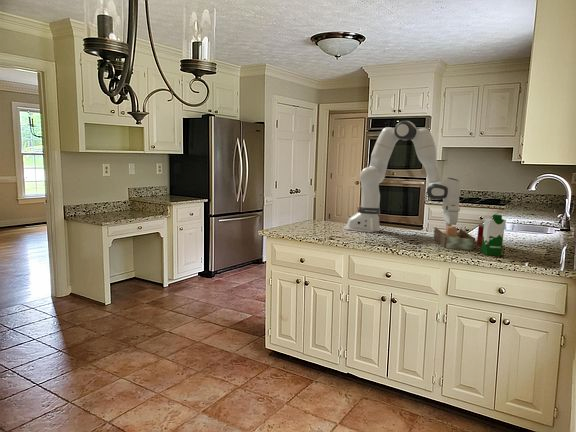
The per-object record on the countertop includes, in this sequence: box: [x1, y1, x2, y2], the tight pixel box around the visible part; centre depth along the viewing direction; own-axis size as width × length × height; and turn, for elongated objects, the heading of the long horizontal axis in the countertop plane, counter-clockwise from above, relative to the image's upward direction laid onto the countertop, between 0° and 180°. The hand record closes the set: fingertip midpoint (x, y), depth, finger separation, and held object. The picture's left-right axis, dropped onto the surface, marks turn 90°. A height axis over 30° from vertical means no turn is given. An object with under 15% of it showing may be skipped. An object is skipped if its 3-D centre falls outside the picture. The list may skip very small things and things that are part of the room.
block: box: [445, 225, 458, 235], centre depth 244 cm, size 5×5×4 cm
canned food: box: [476, 223, 484, 246], centre depth 239 cm, size 8×8×11 cm
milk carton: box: [480, 214, 507, 257], centre depth 216 cm, size 9×9×20 cm
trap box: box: [433, 226, 476, 251], centre depth 239 cm, size 15×28×6 cm, turn 172°
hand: (448, 229), depth 252 cm, fingers closed
